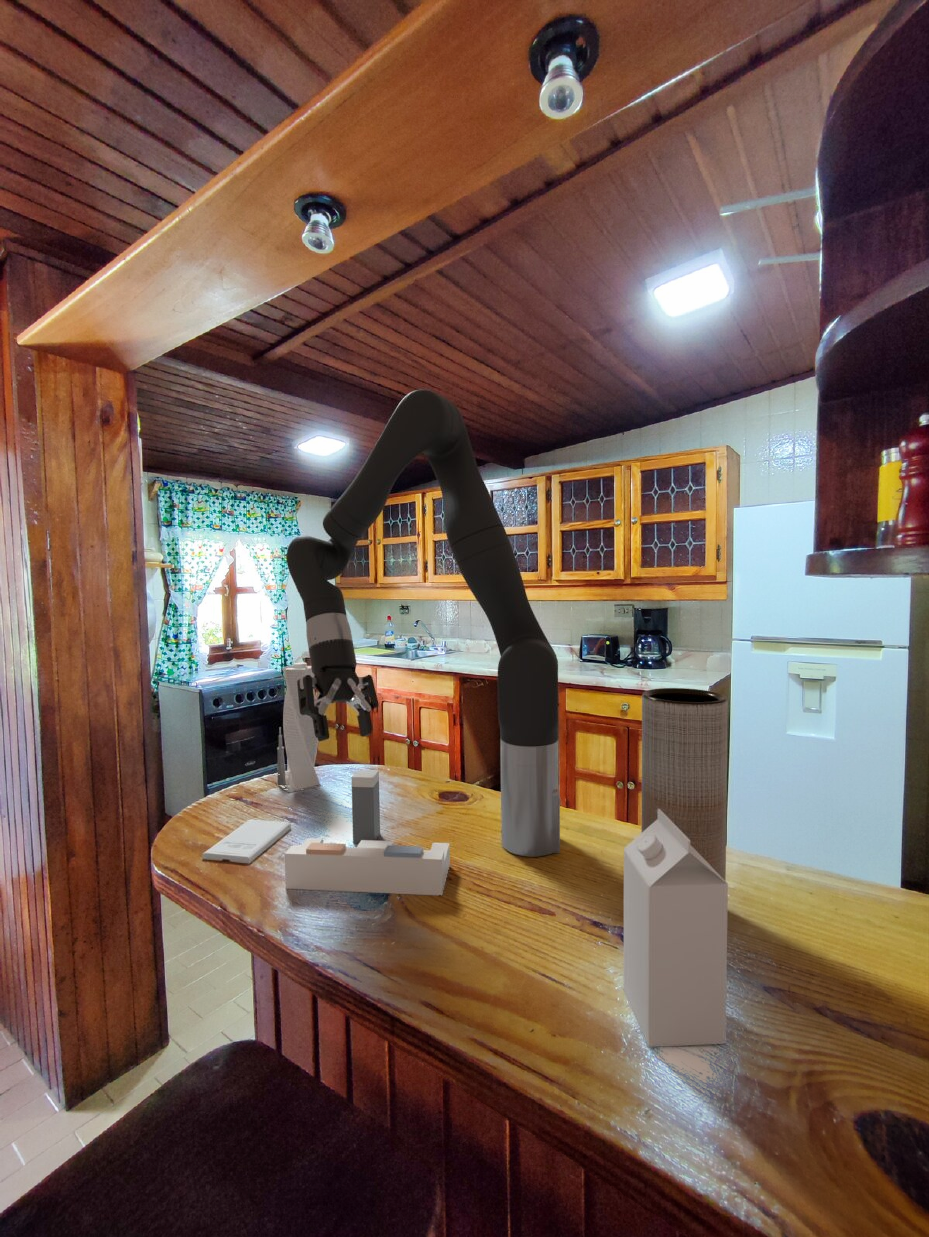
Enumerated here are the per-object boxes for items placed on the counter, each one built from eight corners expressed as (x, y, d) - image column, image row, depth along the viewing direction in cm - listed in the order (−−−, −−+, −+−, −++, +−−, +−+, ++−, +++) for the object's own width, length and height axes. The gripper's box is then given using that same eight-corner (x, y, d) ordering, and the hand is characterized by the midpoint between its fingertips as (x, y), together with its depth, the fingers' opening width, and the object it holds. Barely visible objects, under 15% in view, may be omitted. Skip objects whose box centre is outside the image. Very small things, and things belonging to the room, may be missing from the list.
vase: (625, 899, 73) (625, 691, 72) (684, 883, 77) (685, 685, 75) (679, 943, 64) (681, 705, 62) (743, 923, 67) (746, 698, 66)
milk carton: (691, 988, 57) (693, 807, 56) (726, 1046, 50) (729, 839, 49) (622, 991, 56) (623, 809, 55) (648, 1049, 49) (649, 841, 48)
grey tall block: (380, 834, 94) (378, 770, 93) (374, 843, 90) (373, 777, 89) (359, 833, 94) (358, 769, 93) (353, 843, 90) (351, 777, 90)
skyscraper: (313, 776, 124) (309, 652, 122) (329, 786, 118) (325, 655, 116) (275, 785, 118) (271, 655, 117) (290, 796, 112) (286, 659, 111)
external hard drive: (291, 831, 96) (249, 866, 84) (248, 827, 98) (202, 862, 86) (290, 822, 96) (249, 856, 84) (248, 818, 98) (201, 851, 86)
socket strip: (449, 865, 82) (449, 829, 82) (442, 895, 74) (441, 855, 74) (307, 860, 85) (306, 824, 84) (285, 888, 77) (284, 849, 76)
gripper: (307, 635, 88) (322, 736, 83) (376, 639, 98) (393, 729, 94) (281, 650, 92) (295, 747, 87) (350, 652, 103) (365, 739, 98)
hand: (346, 737), depth 91 cm, fingers open, 8 cm apart
